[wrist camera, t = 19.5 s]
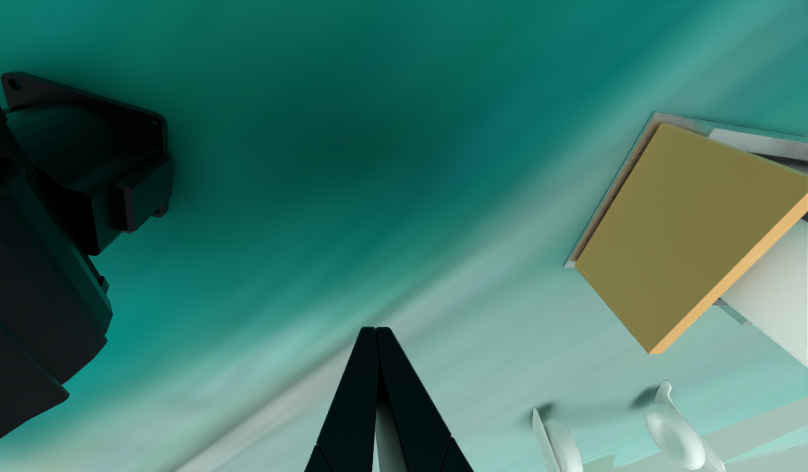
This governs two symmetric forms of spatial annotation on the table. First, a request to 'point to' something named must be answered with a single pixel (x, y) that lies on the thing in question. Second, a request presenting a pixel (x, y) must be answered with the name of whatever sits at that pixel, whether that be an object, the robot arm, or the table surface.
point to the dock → (729, 134)
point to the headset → (661, 424)
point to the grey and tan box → (688, 230)
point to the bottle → (778, 292)
